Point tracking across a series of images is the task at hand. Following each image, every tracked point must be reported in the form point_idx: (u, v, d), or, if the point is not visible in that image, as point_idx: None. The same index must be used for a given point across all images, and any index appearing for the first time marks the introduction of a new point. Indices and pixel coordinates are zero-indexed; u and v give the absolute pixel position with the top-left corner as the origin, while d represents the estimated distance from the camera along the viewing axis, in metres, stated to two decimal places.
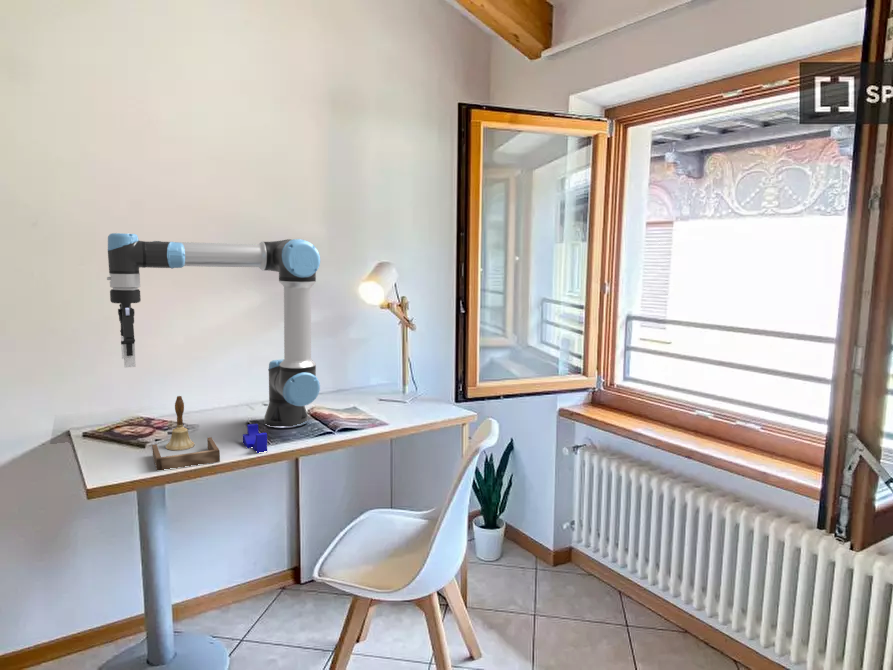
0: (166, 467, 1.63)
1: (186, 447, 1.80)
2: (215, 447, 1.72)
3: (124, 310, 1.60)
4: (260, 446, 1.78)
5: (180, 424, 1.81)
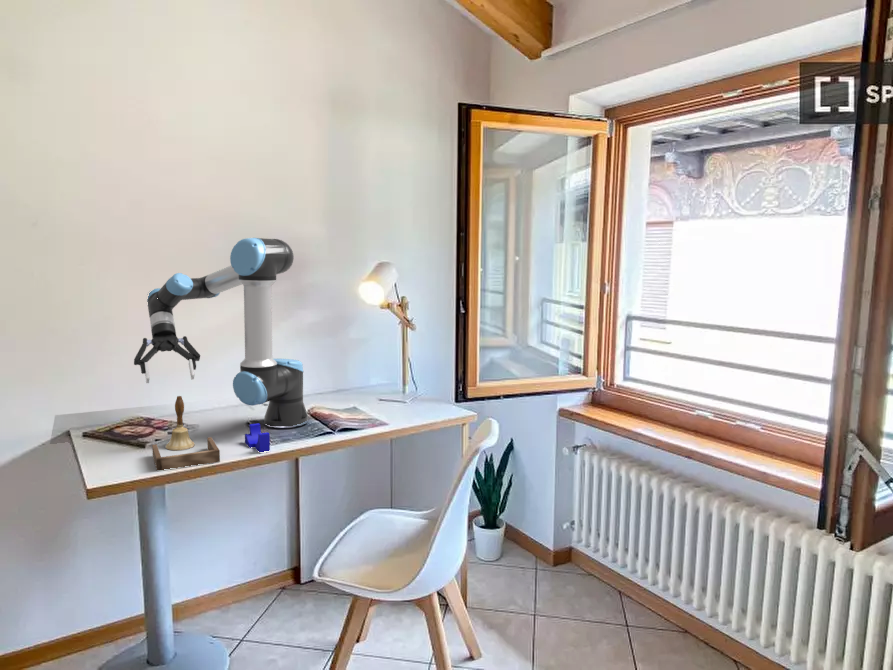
0: (166, 467, 1.63)
1: (186, 447, 1.80)
2: (215, 447, 1.72)
3: None
4: (263, 446, 1.79)
5: (180, 424, 1.81)
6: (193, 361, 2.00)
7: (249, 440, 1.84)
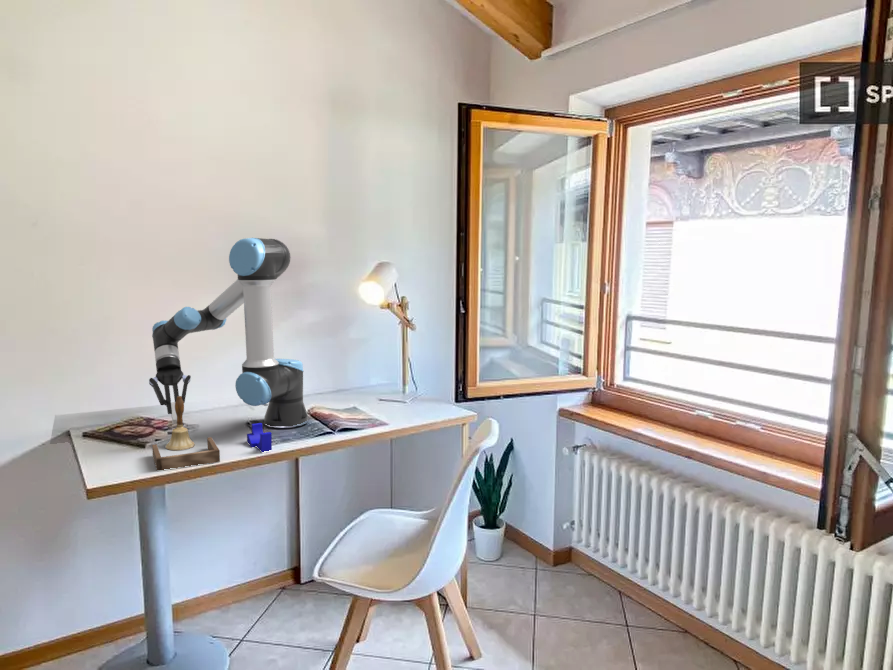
0: (166, 467, 1.63)
1: (186, 447, 1.80)
2: (215, 447, 1.72)
3: (150, 383, 1.94)
4: (265, 445, 1.79)
5: (180, 424, 1.81)
6: None
7: (251, 440, 1.85)
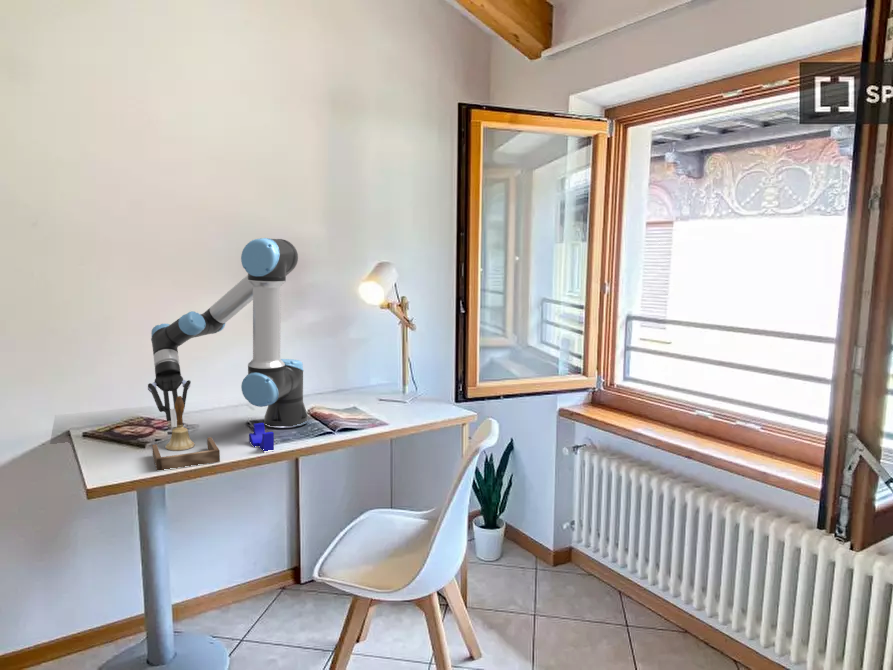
0: (166, 467, 1.63)
1: (186, 447, 1.80)
2: (215, 447, 1.72)
3: (148, 389, 1.88)
4: (267, 445, 1.79)
5: (180, 424, 1.80)
6: None
7: (253, 439, 1.85)
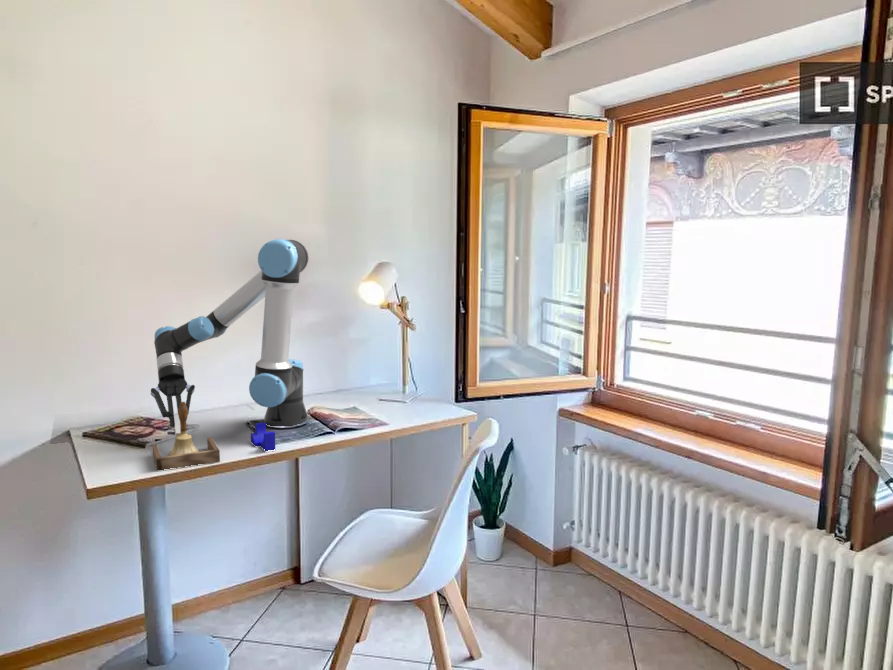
0: (166, 467, 1.63)
1: None
2: (215, 447, 1.72)
3: (151, 394, 1.82)
4: (268, 445, 1.79)
5: (184, 431, 1.74)
6: None
7: (255, 439, 1.85)
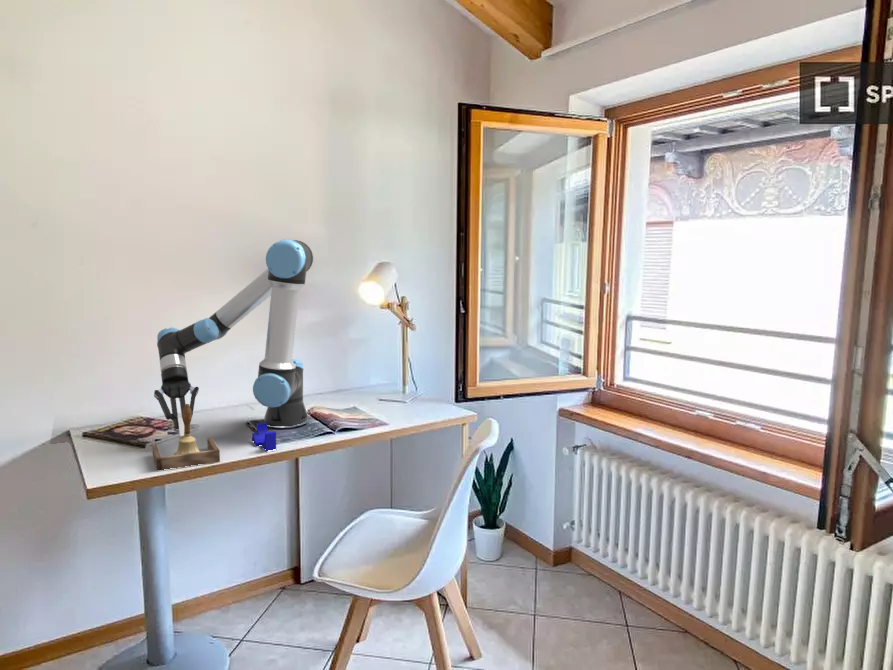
0: (166, 467, 1.63)
1: None
2: (215, 447, 1.72)
3: (155, 396, 1.80)
4: (269, 445, 1.80)
5: (188, 433, 1.72)
6: None
7: (256, 439, 1.85)
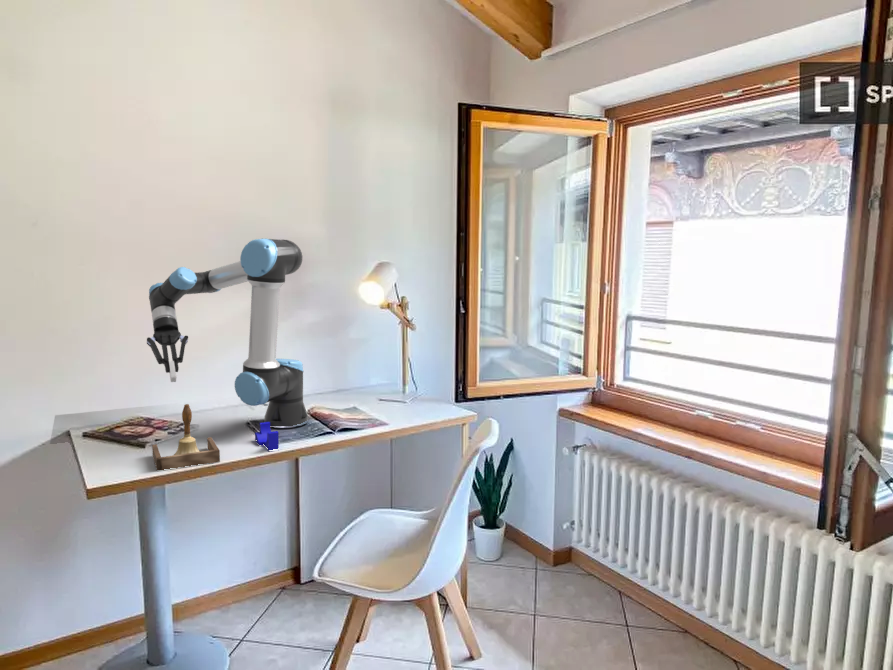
0: (166, 467, 1.63)
1: None
2: (215, 447, 1.72)
3: (147, 343, 1.94)
4: (271, 444, 1.80)
5: (188, 434, 1.72)
6: (176, 363, 1.92)
7: (259, 438, 1.86)
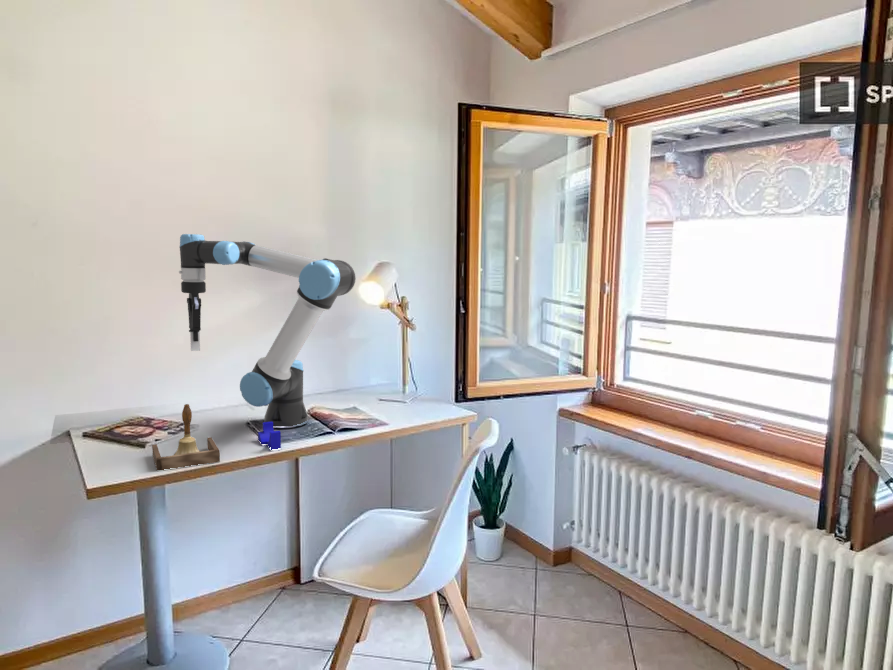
0: (166, 467, 1.63)
1: None
2: (215, 447, 1.72)
3: (194, 306, 1.92)
4: (274, 444, 1.81)
5: (188, 434, 1.72)
6: None
7: (262, 438, 1.87)
